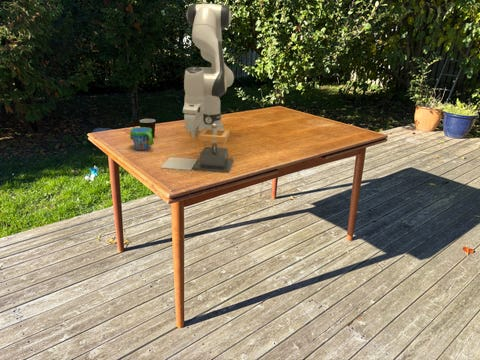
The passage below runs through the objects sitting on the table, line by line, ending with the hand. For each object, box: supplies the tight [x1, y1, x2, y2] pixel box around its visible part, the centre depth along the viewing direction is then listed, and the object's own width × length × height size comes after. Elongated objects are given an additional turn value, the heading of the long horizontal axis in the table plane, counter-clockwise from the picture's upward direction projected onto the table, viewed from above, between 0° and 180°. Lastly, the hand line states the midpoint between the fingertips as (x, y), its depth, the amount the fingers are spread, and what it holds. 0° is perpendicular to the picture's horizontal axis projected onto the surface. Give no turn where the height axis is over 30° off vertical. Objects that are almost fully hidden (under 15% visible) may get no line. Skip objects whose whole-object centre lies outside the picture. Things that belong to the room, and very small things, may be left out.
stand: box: [193, 123, 234, 174], centre depth 170 cm, size 16×16×20 cm
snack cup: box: [129, 126, 155, 151], centre depth 191 cm, size 16×10×10 cm
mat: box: [160, 156, 199, 172], centre depth 174 cm, size 14×14×1 cm
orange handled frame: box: [189, 128, 231, 143], centre depth 169 cm, size 12×17×2 cm
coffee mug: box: [132, 118, 156, 139], centre depth 209 cm, size 12×9×10 cm
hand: (195, 135), depth 170 cm, fingers closed on orange handled frame, 3 cm apart
